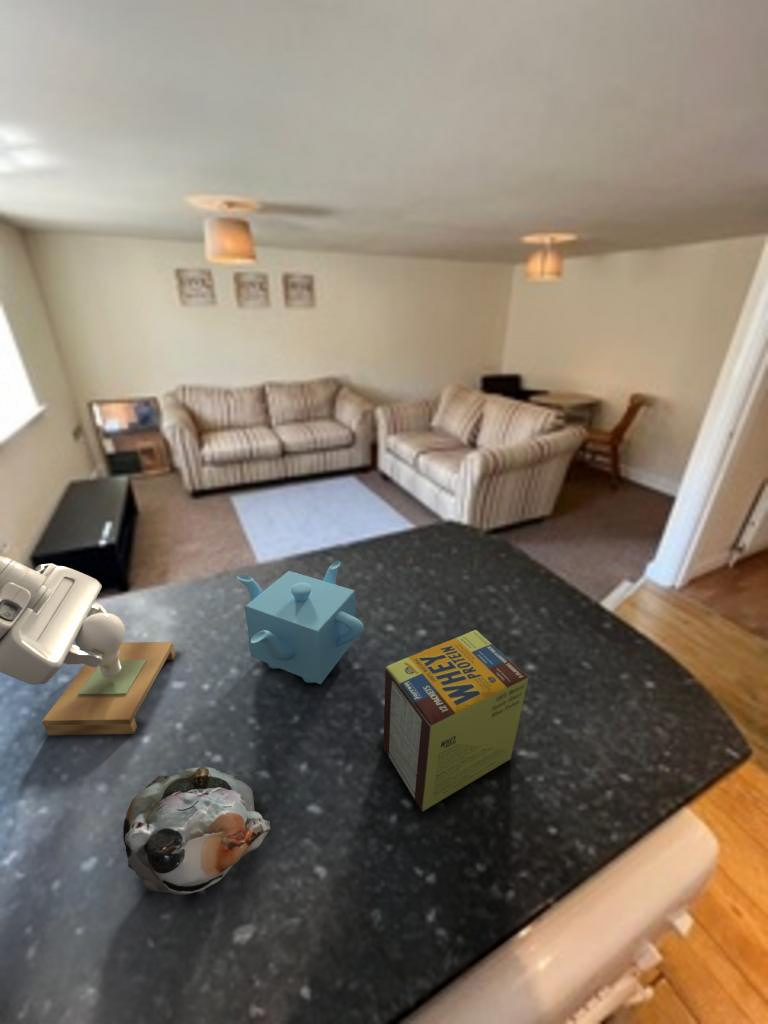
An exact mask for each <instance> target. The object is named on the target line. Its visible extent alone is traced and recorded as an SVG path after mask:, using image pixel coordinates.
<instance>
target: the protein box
mask: <svg viewBox="0 0 768 1024" xmlns="http://www.w3.org/2000/svg"><path fill="white" fill-rule="evenodd" d="M384 670H385V673H384V675H385V676H384V677H385V678H384V707H383V708H384V709H383V735H382V736H383V737H382V749H383V751H384V753H385V754H386V756H387V758H388V759H389V761H390V762H391V764H392V766H393V767H394V769H395V770H396V772H397V774H398V775H399V778H401V780H402V782H403V783H404V785H405V787H406V788H407V790H408V791H409V793H410V795H411V797H412V798H413V800H414V801H415V803H416V805H417V806H418V807H419V809H420V811H421V812H425V811H426V810H428V809H430V808H431V807H433V806H435V805H436V804H438V803H439V802H441V801H443V800H444V799H446V798H448V797H449V796H452V795H453V794H455V793H457V791H459V790H461V789H463V788H465V787H466V786H468V785H469V784H471V783H473V782H475V781H476V780H478V779H480V778H481V777H483V776H485V775H486V774H488V773H490V772H491V771H493V770H495V769H496V768H498V767H499V766H501V765H503V764H505V763H507V762H508V761H510V760H511V759H512V756H513V751H514V745H515V743H516V741H515V740H516V736H517V733H518V729H519V724H520V718H521V714H522V710H523V706H524V705H523V704H524V700H525V696H526V691H527V686H528V682H529V676H528V675H527V674H526V673H525V672H524V671H523V670H521V669H520V668H519V667H518V666H517V665H516V664H515V663H514V662H513V661H512V660H510V659H509V658H508V657H507V656H506V655H504V653H502V652H501V651H500V650H499V649H498V648H497V647H496V646H495V645H494V644H493V643H491V642H490V641H489V640H488V639H487V638H486V637H485V636H484V635H483V634H482V633H480V632H479V631H478V630H477V629H475V630H472V631H469V632H467V633H465V634H462V635H460V636H458V637H454V638H453V639H450V640H448V641H445V642H442V643H440V644H437V645H435V646H432V647H430V648H428V649H425V650H422V651H421V652H418V653H415V654H413V655H411V656H408V657H405V658H403V659H401V660H398V661H396V662H393V663H391V664H388V665H387V666H385V669H384Z"/></svg>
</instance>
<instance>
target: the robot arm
mask: <svg viewBox="0 0 768 1024" xmlns="http://www.w3.org/2000/svg"><path fill="white" fill-rule="evenodd" d="M102 587H103V586H102V584H101V583H100V581H98V580H97V579H96V578H94V577H92V576H90V575H88V574H86V573H83V572H80V571H79V570H76V569H73V568H70V567H67V566H63V565H57V564H54V563H44V564H39V565H37V566H36V567H35V569H33V568H31V567H29V566H27V565H25V564H22V563H20V562H19V561H17V560H15V559H12V558H10V557H7V556H2V555H0V673H2V674H3V675H6V676H7V677H11V678H13V679H16V680H18V681H20V682H24V683H27V684H29V685H34V686H35V685H43V684H47V683H48V682H49V681H50V680H51V679H52V678H53V677H54V675H56V674H57V673H58V671H59V670H60V669H61V667H62V666H63V664H65V665H83V664H84V665H85V664H86V665H89V666H91V667H97V666H98V665H99V664H100V663H101V662H102V660H103V657H104V652H102V651H99V650H97V649H93V650H92V651H80V650H79V649H80V647H78V646H77V645H76V644H74V643H75V638H76V637H77V635H78V633H79V631H80V629H81V627H82V624H83V622H84V620H85V619H86V618H87V617H89V616H90V615H93V614H96V613H102V612H106V613H108V611H107V610H106V609H105V608H104V606H103V605H102V604H100V603H98V602H96V600H97V597H98V596H99V594H100V591H101V590H102Z"/></svg>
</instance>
